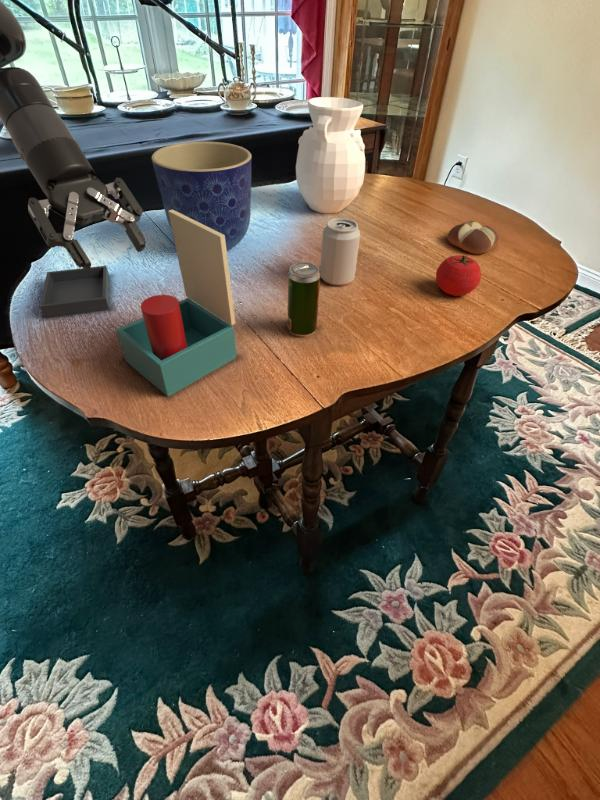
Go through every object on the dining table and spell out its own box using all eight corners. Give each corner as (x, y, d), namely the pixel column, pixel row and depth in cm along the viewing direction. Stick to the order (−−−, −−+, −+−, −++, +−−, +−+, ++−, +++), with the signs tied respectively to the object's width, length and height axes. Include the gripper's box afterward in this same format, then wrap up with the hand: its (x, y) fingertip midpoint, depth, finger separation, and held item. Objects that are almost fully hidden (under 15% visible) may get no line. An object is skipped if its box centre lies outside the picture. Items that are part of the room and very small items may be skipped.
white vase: (346, 225, 113) (358, 113, 96) (283, 212, 119) (284, 103, 101) (369, 202, 126) (383, 99, 108) (311, 191, 131) (316, 91, 113)
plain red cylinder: (159, 383, 66) (141, 317, 58) (156, 362, 70) (139, 297, 62) (193, 377, 68) (180, 311, 59) (189, 357, 71) (176, 292, 63)
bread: (474, 258, 102) (481, 238, 98) (439, 240, 109) (444, 220, 105) (504, 248, 106) (512, 228, 103) (469, 231, 113) (475, 212, 110)
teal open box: (167, 397, 65) (159, 365, 61) (125, 361, 71) (115, 329, 67) (236, 358, 73) (233, 326, 68) (193, 328, 78) (188, 297, 74)
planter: (174, 267, 94) (156, 173, 81) (163, 229, 108) (147, 144, 95) (265, 256, 99) (262, 166, 86) (244, 221, 113) (239, 138, 100)
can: (358, 274, 95) (365, 219, 86) (349, 290, 90) (356, 233, 81) (325, 268, 96) (329, 213, 88) (315, 283, 91) (318, 227, 83)
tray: (45, 318, 79) (39, 306, 77) (51, 283, 88) (47, 271, 86) (109, 310, 82) (105, 298, 80) (109, 277, 91) (106, 265, 89)
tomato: (439, 303, 87) (450, 266, 82) (426, 281, 93) (436, 245, 88) (481, 302, 88) (494, 265, 82) (466, 280, 94) (477, 245, 89)
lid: (220, 237, 57) (224, 235, 58) (167, 210, 63) (172, 209, 64) (231, 325, 68) (235, 323, 68) (185, 296, 74) (189, 294, 74)
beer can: (295, 341, 76) (296, 279, 68) (282, 325, 80) (282, 264, 72) (321, 334, 78) (326, 273, 70) (308, 318, 82) (311, 259, 73)
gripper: (-4, 144, 53) (71, 263, 56) (103, 127, 61) (165, 232, 64) (-1, 179, 60) (66, 284, 62) (95, 159, 67) (152, 254, 70)
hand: (116, 258), depth 63 cm, fingers open, 8 cm apart
